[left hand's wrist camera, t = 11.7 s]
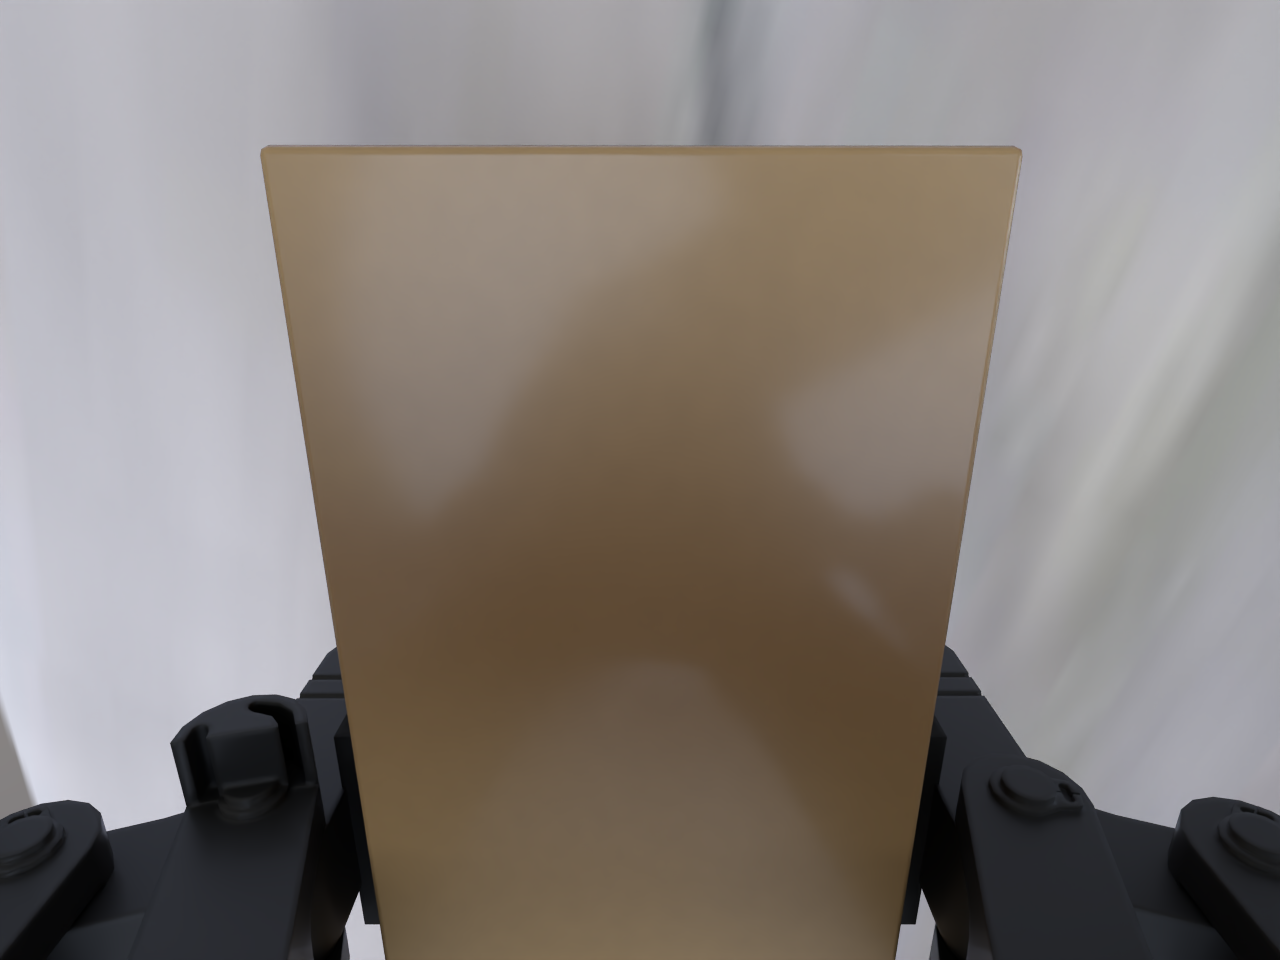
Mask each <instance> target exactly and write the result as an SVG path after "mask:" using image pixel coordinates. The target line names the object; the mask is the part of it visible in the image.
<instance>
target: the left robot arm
mask: <svg viewBox="0 0 1280 960" xmlns="http://www.w3.org/2000/svg"><path fill="white" fill-rule="evenodd" d="M170 744H171V748H172V752H173V756H174V760H175V764H176V767H177V771H178V775H179V779H180V783H181V787H182V791H183V795H184V798H185V802H186V806H187V807H186V809H185V812H184V813H181V814H177V815H174V816H171V817H167V818H164V819H159V820H155V821H151V822H146V823H142V824H137V825H133V826H129V827H124V828H120V829H115V830H111V831H107V832H106V829H105V825H104V822H103V819H102V816H101V813H100V812H99V811H98V810H97V809H95V808H94V807H93V806H92V805H91V804H89V803H85V802H78V801H72V800H65V801H58V802H51V803H43V804H39V805H36V806H33V807H30V808H28V809H25V810H21V811H19V812H16V813H13V814H11V815H9V816H7V817H5V818H3V819H1V820H0V960H349V959H350V954H349V948H348V941H347V935H346V929H345V925H346V922H347V920H348V917H349V915H350V912H351V910H352V907H353V905H354V902H355V900H356V898H357V895H358V893H359V892H360V898H361V904H362V910H363V916H364V922H365V924H380V921H379V915H378V909H377V902H376V896H375V889H374V883H373V876H372V870H371V864H370V857H369V851H368V844H367V838H366V831H365V825H364V818H363V812H362V806H361V799H360V793H359V786H358V780H357V773H356V767H355V761H354V754H353V748H352V741H351V735H350V728H349V722H348V716H347V709H346V703H345V696H344V690H343V683H342V677H341V671H340V664H339V658H338V651H337V647H336V648H334V649H333V650H332V651H330V652H329V653H328V654H327V655H326V656H325V658H324V659H323V661H322V662H321V664H320V665H319V667H318V668H317V670H316V671H315V673H314V674H313V678H312V680H309V681H308V683H307V684H306V686H305V687H304V689H303V690H302V692H301V693H300V698H297V699H296V700H295V699H292V698H288V697H284V696H280V695H252V696H248V697H244V698H240V699H236V700H232V701H228V702H225V703H223V704H221V705H218V706H216V707H214V708H212V709H209V710H207V711H205V712H203V713H201V714H200V715H199V716H197V717H196V718H194V719H193V720H192V721H190V722H189V723H187V724H186V725H185V726H183V727H182V728H181V730H180V731H179V732H178V734H177V735H176V736H175V738H174V739H173V740H172V741H171V743H170ZM921 889H922V890H923V892H924V895H925V897H926V900H927V902H928V905H929V907H930V910H931V912H932V915H933V917H934V920H935V922H936V924H935V929H934V935H933V940H932V946H931V951H930V957H929V960H1280V816H1279V815H1277V814H1275V813H1274V812H1272V811H1269V810H1266V809H1264V808H1261V807H1259V806H1255V805H1252V804H1249V803H1246V802H1243V801H1239V800H1232V799H1225V798H1218V797H1209V798H1203V799H1196V800H1192V801H1191V802H1190V803H1188V804H1187V805H1186V806H1185V807H1184V808H1182V809H1181V811H1180V815H1179V818H1178V821H1177V824H1176V828H1170V827H1166V826H1162V825H1157V824H1153V823H1148V822H1144V821H1140V820H1135V819H1131V818H1126V817H1122V816H1118V815H1114V814H1111V813H1107V812H1104V811H1101V810H1097V809H1095V808H1094V805H1093V804H1092V802H1091V801H1090V799H1089V798H1088V796H1087V795H1086V793H1085V792H1084V790H1083V789H1082V788H1081V787H1080V786H1079V785H1078V784H1076V783H1075V782H1074V781H1073V780H1071V779H1070V778H1069V777H1068V776H1067V775H1065V774H1064V773H1063V772H1061V771H1059V770H1057V769H1055V768H1053V767H1051V766H1049V765H1047V764H1045V763H1043V762H1041V761H1038V760H1035V759H1031V758H1027V757H1026V756H1025V755H1024V753H1023V752H1022V750H1021V749H1020V747H1019V746H1018V744H1017V743H1016V741H1015V740H1014V739H1013V737H1012V736H1011V734H1010V733H1009V731H1008V730H1007V728H1006V727H1005V725H1004V724H1003V723H1002V721H1001V720H1000V718H999V717H998V715H997V714H996V712H995V711H994V709H993V708H992V707H991V705H990V704H989V702H988V701H987V699H986V698H985V696H981V691H980V689H979V688H978V686H977V685H976V683H975V682H974V680H973V679H972V677H969V676H968V672H967V670H966V669H965V667H964V666H963V664H962V663H961V661H960V660H959V658H958V657H957V656H956V654H955V653H954V651H953V650H951V649H950V648H948V647H947V646H946V645H945V648H944V654H943V660H942V667H941V673H940V679H939V686H938V692H937V698H936V705H935V711H934V717H933V724H932V730H931V736H930V742H929V749H928V755H927V761H926V768H925V774H924V780H923V787H922V793H921V799H920V806H919V812H918V818H917V825H916V831H915V837H914V844H913V850H912V856H911V862H910V869H909V875H908V881H907V888H906V894H905V900H904V907H903V913H902V919H901V924H916V919H917V913H918V907H919V901H920V895H921Z"/></svg>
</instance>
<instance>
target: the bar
mask: <svg viewBox="0 0 1280 960" xmlns="http://www.w3.org/2000/svg"><path fill="white" fill-rule="evenodd" d="M260 156H261V162H262V169H263V175H264V182H265V188H266V195H267V201H268V207H269V214H270V220H271V227H272V233H273V240H274V246H275V252H276V259H277V265H278V272H279V278H280V285H281V291H282V297H283V304H284V310H285V317H286V323H287V330H288V336H289V343H290V349H291V355H292V362H293V368H294V375H295V381H296V388H297V394H298V400H299V407H300V413H301V420H302V426H303V433H304V439H305V445H306V452H307V458H308V465H309V471H310V478H311V484H312V490H313V497H314V503H315V510H316V516H317V523H318V529H319V535H320V542H321V548H322V555H323V561H324V568H325V574H326V580H327V587H328V593H329V600H330V606H331V613H332V619H333V626H334V632H335V638H336V645H337V651H338V658H339V664H340V671H341V677H342V683H343V690H344V696H345V703H346V709H347V716H348V722H349V728H350V735H351V741H352V748H353V754H354V761H355V767H356V773H357V780H358V786H359V793H360V799H361V806H362V812H363V818H364V825H365V831H366V838H367V844H368V851H369V857H370V864H371V870H372V876H373V883H374V889H375V896H376V902H377V909H378V915H379V921H380V928H381V934H382V941H383V947H384V954H385V960H895V957H896V951H897V945H898V938H899V932H900V926H901V919H902V913H903V907H904V900H905V894H906V888H907V881H908V875H909V869H910V862H911V856H912V850H913V844H914V837H915V831H916V825H917V818H918V812H919V806H920V799H921V793H922V787H923V780H924V774H925V768H926V761H927V755H928V749H929V742H930V736H931V730H932V724H933V717H934V711H935V705H936V698H937V692H938V686H939V679H940V673H941V667H942V660H943V654H944V648H945V641H946V635H947V629H948V623H949V616H950V610H951V604H952V597H953V591H954V585H955V578H956V572H957V566H958V559H959V553H960V547H961V540H962V534H963V528H964V521H965V515H966V509H967V503H968V496H969V490H970V484H971V477H972V471H973V465H974V458H975V452H976V446H977V439H978V433H979V427H980V420H981V414H982V408H983V401H984V395H985V389H986V383H987V376H988V370H989V364H990V357H991V351H992V345H993V338H994V332H995V326H996V319H997V313H998V307H999V300H1000V294H1001V288H1002V282H1003V275H1004V269H1005V263H1006V256H1007V250H1008V244H1009V237H1010V231H1011V225H1012V218H1013V212H1014V206H1015V199H1016V193H1017V187H1018V180H1019V174H1020V168H1021V162H1022V151H1021V149H1019V148H1017V147H1015V146H658V145H268V146H266V147H264V148H262V149H261V155H260Z"/></svg>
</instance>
